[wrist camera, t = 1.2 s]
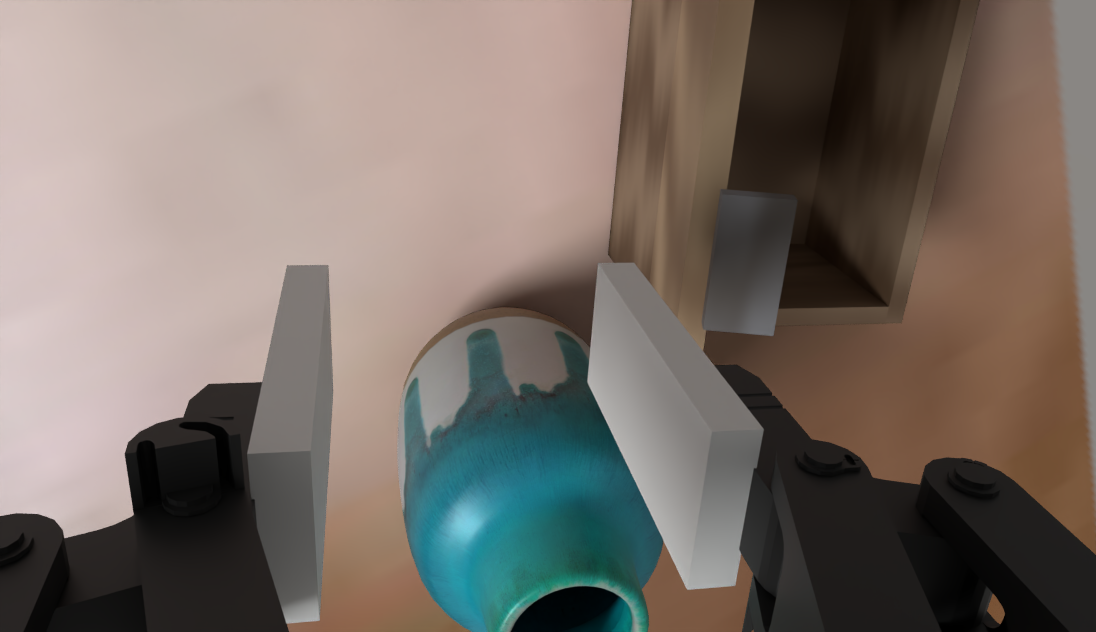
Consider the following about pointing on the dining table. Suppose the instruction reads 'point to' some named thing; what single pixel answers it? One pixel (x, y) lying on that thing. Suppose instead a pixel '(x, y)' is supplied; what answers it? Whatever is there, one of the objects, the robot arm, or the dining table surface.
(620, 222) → the box
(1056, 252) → the dining table surface
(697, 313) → the lid
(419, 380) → the vase
